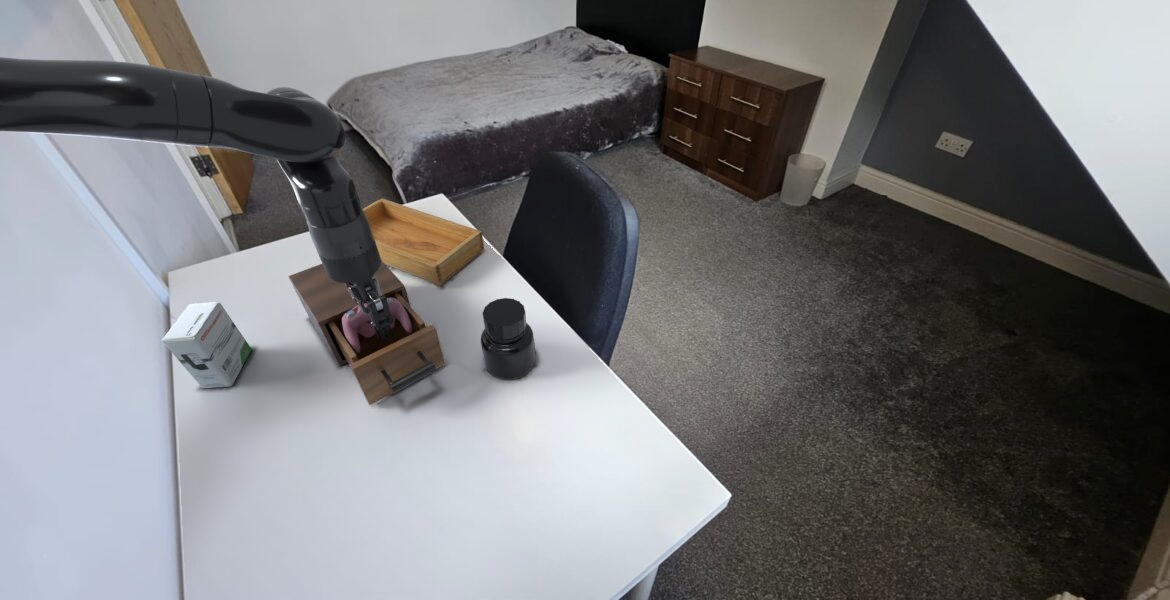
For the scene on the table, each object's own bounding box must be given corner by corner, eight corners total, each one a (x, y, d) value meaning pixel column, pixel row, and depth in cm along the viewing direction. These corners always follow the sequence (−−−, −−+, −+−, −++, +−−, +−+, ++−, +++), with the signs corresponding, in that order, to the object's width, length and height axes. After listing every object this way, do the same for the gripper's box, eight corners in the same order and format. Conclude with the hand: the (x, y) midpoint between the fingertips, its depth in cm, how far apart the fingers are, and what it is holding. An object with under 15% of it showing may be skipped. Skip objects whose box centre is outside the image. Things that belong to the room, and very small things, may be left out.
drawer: (459, 380, 79) (450, 344, 73) (382, 425, 72) (365, 389, 66) (408, 319, 89) (396, 284, 84) (336, 353, 83) (318, 317, 77)
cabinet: (417, 328, 89) (404, 285, 82) (339, 366, 82) (317, 322, 75) (383, 287, 98) (368, 246, 91) (309, 319, 90) (287, 276, 83)
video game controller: (410, 326, 82) (396, 289, 79) (416, 332, 78) (400, 293, 76) (351, 349, 77) (334, 310, 75) (354, 356, 73) (336, 315, 71)
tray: (338, 246, 109) (329, 225, 105) (387, 216, 119) (381, 196, 115) (440, 288, 98) (435, 267, 94) (485, 252, 108) (482, 231, 104)
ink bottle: (543, 348, 86) (540, 299, 78) (528, 385, 79) (523, 336, 71) (493, 339, 87) (485, 289, 79) (474, 374, 81) (464, 325, 73)
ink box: (224, 350, 84) (189, 301, 76) (253, 349, 84) (221, 299, 76) (199, 389, 77) (158, 339, 70) (231, 387, 78) (193, 337, 70)
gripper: (393, 255, 64) (419, 340, 75) (352, 212, 72) (381, 295, 83) (336, 277, 60) (373, 364, 71) (300, 229, 68) (338, 314, 79)
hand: (377, 327), depth 77 cm, fingers closed on video game controller, 6 cm apart
